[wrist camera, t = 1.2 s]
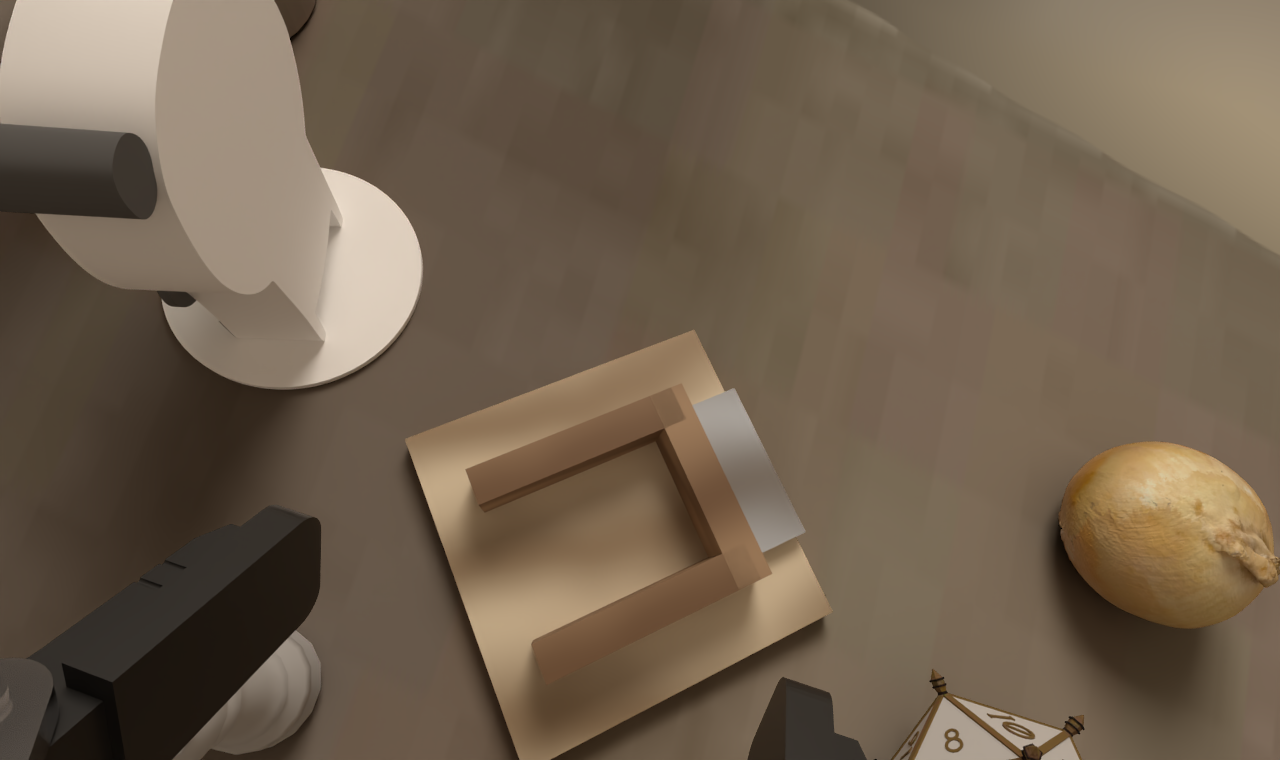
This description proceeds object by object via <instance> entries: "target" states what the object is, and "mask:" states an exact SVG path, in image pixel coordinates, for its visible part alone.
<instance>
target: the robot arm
mask: <svg viewBox="0 0 1280 760" xmlns="http://www.w3.org/2000/svg"><path fill="white" fill-rule="evenodd" d="M274 1H275V3H276V5H277V7H278V9H279V11H280V13H281V15H282V18H283V20H284V23H285V25H286V28H287V31H288V34H289V37H291V36H293V35H294V34H295V33H297V32H298V31H299V29H300V28H301V27H302V26H303V25H304V23H305V22H306V21H307V20H308V18H309V16H310V14H311V12H312V10H313V8H314V6H315V1H316V0H274ZM320 561H321V524H320V522H319V520H318V519H317V518H314V517H311V516H308V515H306V514H303V513H300V512H297V511H294V510H291V509H288V508H285V507H282V506H279V505H271V506H268V507H266V508H265V509H263V510H262V511H261V512H259V513H258V514H257V515H255V516H254V517H253V518H251V519H250V520H249V521H247V522H246V523H245V524H243V525H242V526H241V527H238V526H236V525H233V524H230V525H227V526H224V527H222V528H219V529H217V530H214V531H212V532H209V533H207V534H204V535H202V536H199V537H197V538H194V539H193V540H192V541H190V542H189V543H188V544H186V545H185V546H183V547H182V548H181V549H179V550H178V551H176V552H175V553H174V554H172V555H171V556H169V557H168V558H167V559H165V562H164V563H163V564H162V565H161V564H158V565H157V566H156V567H154V568H153V569H151V570H150V571H149V572H147V573H146V574H144V575H143V576H142V577H140V580H139V582H137V583H135V582H133V583H132V584H131V585H129V586H128V587H126V588H125V589H124V590H122V591H121V592H119V593H118V594H117V595H115V596H114V597H113V598H111V599H110V600H108V601H107V602H106V603H104V604H103V605H101V606H100V607H99V608H97V609H96V610H95V611H93V612H92V613H90V614H89V615H88V616H86V617H85V618H83V619H82V620H81V621H79V622H78V623H76V624H75V625H74V626H72V627H71V628H70V629H68V630H67V631H65V632H64V633H63V634H61V635H60V636H58V637H57V638H56V639H54V640H53V641H51V642H50V643H49V644H47V645H46V646H45V647H43V648H42V649H40V650H39V651H37V652H36V653H34V654H33V655H31V656H30V657H28V658H26V659H23V658H4V659H0V760H172V759H173V758H174V757H175V756H176V755H177V754H178V753H179V752H180V751H181V750H182V749H183V748H184V747H185V746H186V745H187V744H188V743H189V742H190V740H191V739H192V738H193V737H194V736H195V735H196V734H197V733H198V732H199V731H200V730H201V729H202V728H203V727H204V726H205V725H206V724H207V723H208V722H209V721H210V719H211V718H212V717H213V716H214V715H215V714H216V713H217V712H218V711H219V710H220V709H221V708H222V707H223V706H224V705H225V704H226V703H227V702H228V701H229V700H230V698H231V697H232V696H233V695H234V694H235V693H236V692H237V691H238V690H239V689H240V688H241V687H242V686H243V685H244V684H245V683H246V682H247V681H248V680H249V679H250V677H251V676H252V675H253V674H254V673H255V672H256V671H257V670H258V669H259V668H260V667H261V666H262V665H263V664H264V663H265V662H266V661H267V660H268V659H269V658H270V656H271V655H272V654H273V653H274V652H275V651H276V650H277V649H278V648H279V647H280V646H281V645H282V644H283V643H284V642H285V641H286V640H287V639H288V638H289V637H290V635H291V634H292V633H293V632H294V631H295V630H296V629H297V628H298V627H299V626H300V625H301V624H302V623H303V622H304V620H305V619H306V618H307V616H308V615H309V613H310V612H311V610H312V608H313V606H314V604H315V602H316V599H317V597H318V593H319V589H320ZM748 760H867V759H866V757H865V755H864V753H863V751H862V749H861V747H860V745H859V743H858V741H857V740H854V739H851V738H848V737H845V736H842V735H839V734H836V733H834V721H833V705H832V698H831V695H830V693H829V692H826V691H823V690H820V689H817V688H814V687H811V686H808V685H805V684H802V683H799V682H796V681H793V680H790V679H787V678H784V677H782V678H781V679H780V680H779V682H778V684H777V686H776V689H775V691H774V693H773V695H772V698H771V700H770V702H769V705H768V707H767V709H766V712H765V714H764V716H763V718H762V721H761V723H760V725H759V728H758V730H757V732H756V735H755V737H754V739H753V742H752V745H751V748H750V752H749V756H748Z"/></svg>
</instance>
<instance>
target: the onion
mask: <svg viewBox="0 0 1280 760" xmlns="http://www.w3.org/2000/svg"><path fill="white" fill-rule="evenodd" d="M1058 521H1059V525H1058V526H1060V528H1062V529H1061V534H1060V535H1061V539H1062V540H1063V542H1064V546H1065V550H1066V552H1067V553H1068V556H1069V560H1071V562H1072V564H1073V565H1074V567H1075V568H1076V570H1077V571H1078V573H1079V574H1080V575H1081V576H1082V577H1083V579H1084V580H1085V581H1086V582H1087V583H1088V584H1089V585H1090V586H1091V587H1092V588H1093V589H1094V590H1095V591H1096V592H1097V593H1098V594H1100V595H1101V596H1102V597H1103V598H1104V599H1106V600H1107V601H1109V602H1110V603H1112V604H1113V605H1115V606H1116V607H1118V608H1120V609H1122V610H1124V611H1126V612H1128V613H1131V614H1133V615H1135V616H1138V617H1140V618H1143V619H1145V620H1148V621H1151V622H1155V623H1158V624H1161V625H1166V626H1170V627H1174V628H1183V629H1193V628H1200V627H1205V626H1210V625H1213V624H1217V623H1220V622H1222V621H1224V620H1227V619H1229V618H1231V617H1233V616H1235V615H1236V614H1238V613H1239V612H1241V611H1242V610H1243V609H1244V608H1245V607H1246V606H1248V605H1249V604H1250V603H1251V602H1252V601H1253V600H1254V599H1255V598H1256V597H1257V596H1258V595H1259V593H1260V592H1261V591H1262V589H1263V588H1264V587H1265V588H1267V587H1269V586H1271V585H1273V584H1275V583H1276V582H1277V581H1278V575H1279V574H1280V570H1279V566H1280V560H1279V559H1280V558H1278V557H1275V556H1274V545H1273V534H1272V527H1271V523H1270V520H1269V517H1268V514H1267V512H1266V509H1265V507H1264V505H1263V504H1262V502H1261V500H1260V499H1259V497H1258V495H1257V494H1256V493H1255V492H1254V490H1253V489H1252V488H1251V487H1250V486H1249V484H1248V483H1247V482H1246V481H1244V480H1243V479H1242V478H1241V477H1240V476H1239V475H1238V474H1236V473H1235V472H1234V471H1233V470H1231V469H1230V468H1229V467H1227V466H1226V465H1224V464H1223V463H1221V462H1220V461H1218V460H1217V459H1215V458H1213V457H1211V456H1209V455H1207V454H1205V453H1203V452H1200V451H1197V450H1194V449H1191V448H1188V447H1185V446H1182V445H1177V444H1173V443H1167V442H1139V443H1132V444H1127V445H1122V446H1118V447H1115V448H1112V449H1109V450H1107V451H1105V452H1103V453H1101V454H1099V455H1097V456H1096V457H1094V458H1092V459H1091V460H1090V461H1088V462H1087V463H1086V464H1085V465H1084V466H1083V467H1082V468H1081V469H1080V470H1079V471H1078V472H1077V473H1076V474H1075V475H1074V476H1073V478H1072V479H1071V481H1070V482H1069V484H1068V486H1067V488H1066V491H1065V494H1064V497H1063V500H1062V506H1061V510H1060V512H1059V519H1058Z"/></svg>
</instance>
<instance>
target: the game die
mask: <svg viewBox="0 0 1280 760" xmlns="http://www.w3.org/2000/svg"><path fill="white" fill-rule="evenodd" d="M943 679H944V677H942V676H940V675H939V674H938V673H937V672H936V671H935V670H934V669H932V675H931V680H930V682H932V685H933V687H932V688H934V689H935V690H936V691H937V692H938V696H937V698H936V699H935V700H934V702H933V703H932V705H931V706H930V707H929V709H928V710H927V711H926V713H925V714H924V715H923V717H922V718H921V720H920V721H919V722H918V724H917V725H916V726H915V728H914V729H913V730H912V732H911V733H910V735H909V736H908V737H907V739H906V740H905V741H904V743H903V744H902V745H901V747H900V748H899V750H898V751H897V752H896V754H895V755H894V756H893V758H892V759H891V760H1082V758H1081V756H1080V754H1079V752H1078V750H1077V748H1076V745H1075V743H1074V741H1073V739H1072V737H1073V735H1075V734H1077V733H1078V734H1080V731H1081V730H1082V729H1083V730H1084V727H1083V724H1084V715H1080V716H1075V717H1071V716H1069V718H1070V719H1069V720H1068V721H1065V723H1066V725H1065V727H1064V728H1063V729H1060V728H1057V727H1054V726H1051V725H1048V724H1045V723H1041V722H1038V721H1035V720H1032V719H1029V718H1026V717H1022V716H1019V715H1016V714H1013V713H1010V712H1007V711H1003V710H1000V709H997V708H994V707H991V706H988V705H984V704H981V703H978V702H975V701H972V700H969V699H966V698H962V697H959V696H956V695H953V694H950V693H948V692H947V691H946V683H944V680H943ZM875 760H877V759H875Z"/></svg>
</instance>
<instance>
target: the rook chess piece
mask: <svg viewBox="0 0 1280 760" xmlns="http://www.w3.org/2000/svg"><path fill="white" fill-rule="evenodd" d="M320 689H321V663H320V661H319V659H318V657H317V654H316V652H315V650H314V648H313V645H312V643H311V642H309V641H308V640H307V639H306V638H305V637H303V636H302V635H301V634H300V633H299V632H297V631H296V630H295V631H294V632H293V633H292V634H291V635H290V637H289V638H288V639H287V640H286V641H285V642H284V643H283V644H282V645H281V646H280V647H279V648H278V649H277V650H276V651H275V652H274V653H273V654H272V655H271V656H270V658H269V659H268V660H267V661H266V662H265V663H264V664H263V665H262V666H261V667H260V668H259V669H258V670H257V671H256V672H255V673H254V674H253V675H252V676H251V677H250V679H249V680H248V681H247V682H246V683H245V684H244V685H243V686H242V687H241V688H240V689H239V690H238V691H237V692H236V693H235V694H234V695H233V696H232V697H231V698H230V700H229V701H228V702H227V703H226V704H225V705H224V706H223V707H222V708H221V709H220V710H219V711H218V712H217V713H216V714H215V715H214V716H213V717H212V718H211V719H210V721H209V722H208V723H207V724H206V725H205V726H204V727H203V728H202V729H201V730H200V731H199V732H198V733H197V734H196V735H195V736H194V737H193V738H192V739H191V740H190V742H189V743H188V744H187V745H186V746H185V747H184V748H183V749H182V750H181V751H180V752H179V753H178V754H177V755H176V756H175V757H174V758H173V759H172V760H201V759H202V757H203V756H204V755H205V754H206V753H207V752H208V751H209V750H210V749H214V750H218V751H222V752H226V753H230V754H234V755H239V754H244V753H250V752H255V751H261V750H263V749H265V748H270V747H273V746H274V745H276V744H278V743H279V742H281V741H283V740H284V739H286V738H288V737H289V736H291V735H292V734H294V733H295V732H296V731H297V730H298V729H299V727H300V726H301V725H302V724H303V722H304V721H305V720H306V719H307V718H308V716H309V715H310V714H311V713H312V711H313V708H314V705H315V703H316V700H317V697H318V695H319V692H320Z"/></svg>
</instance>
